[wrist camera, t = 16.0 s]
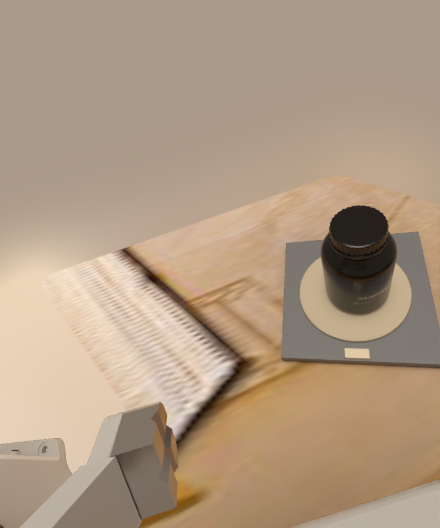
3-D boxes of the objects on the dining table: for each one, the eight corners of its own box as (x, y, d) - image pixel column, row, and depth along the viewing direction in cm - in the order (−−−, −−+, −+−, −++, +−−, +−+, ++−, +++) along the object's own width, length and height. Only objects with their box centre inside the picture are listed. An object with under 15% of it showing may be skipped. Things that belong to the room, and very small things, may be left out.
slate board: (283, 360, 38) (280, 356, 36) (287, 247, 46) (285, 240, 44) (444, 367, 32) (448, 362, 30) (417, 237, 40) (419, 228, 39)
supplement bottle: (372, 327, 34) (378, 272, 25) (315, 299, 38) (301, 242, 29) (401, 277, 36) (416, 208, 27) (343, 255, 40) (338, 188, 31)
